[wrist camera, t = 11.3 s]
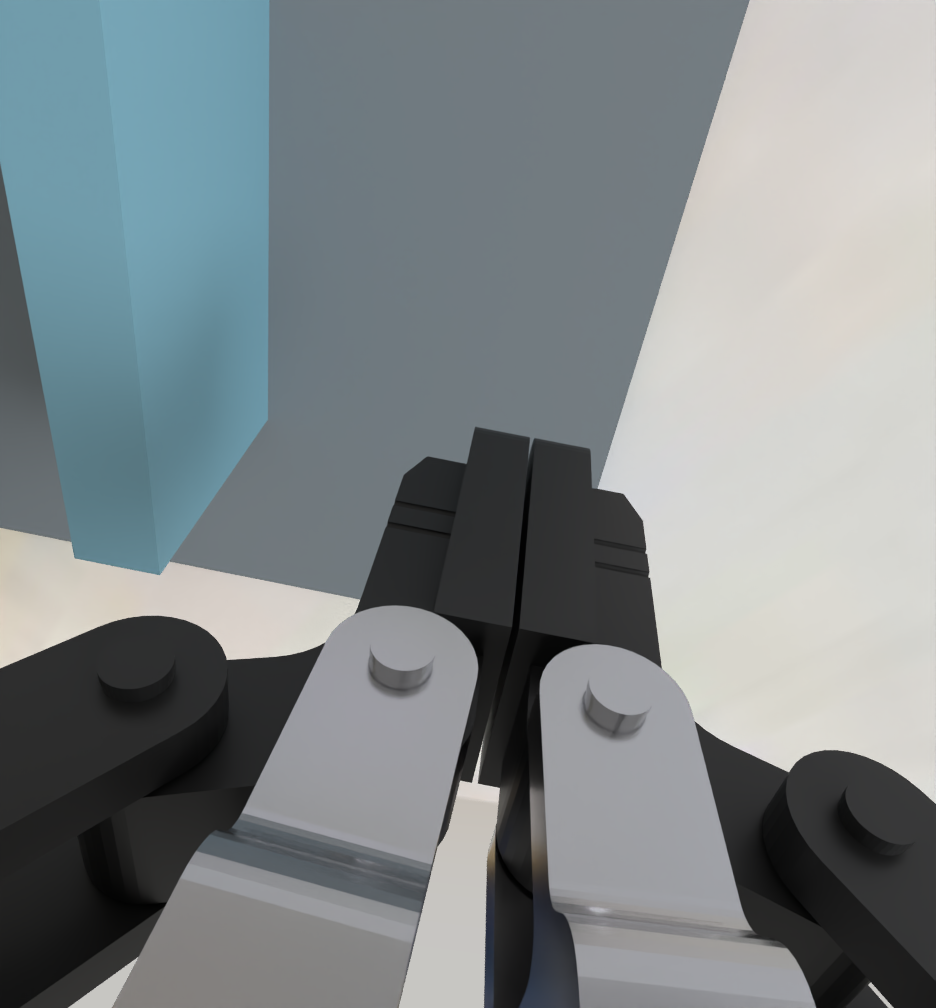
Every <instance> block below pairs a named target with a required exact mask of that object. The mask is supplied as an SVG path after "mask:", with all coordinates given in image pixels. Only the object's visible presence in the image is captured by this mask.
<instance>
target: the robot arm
mask: <svg viewBox="0 0 936 1008" xmlns="http://www.w3.org/2000/svg"><path fill="white" fill-rule="evenodd" d="M529 445H530V437H526V436H521V435H516V434H511V433H506V432H500V431H495V430H490V429H485V428H480V427H475V429H474V433H473V438H472V442H471V447H470V451H469V456H468V460H467V464H465V463H460V462H455V461H450V460H444V459H439V458H434V457H429V456H427V457H426V458H424V459H423V460H422V461H421V462H419V463H418V464H417V465H416V466H414V467H413V468H412V469H410V470H409V471H408V472H407V473H405V474H404V475H403V478H402V481H401V484H400V487H399V490H398V493H397V496H396V498H395V503H394V505H393V507H392V510H391V513H390V516H389V519H388V522H387V527H385V530H384V533H383V536H382V539H381V542H380V545H379V547H378V550H377V553H376V556H375V559H374V562H373V565H372V568H371V571H370V573H369V576H368V579H367V582H366V585H365V588H364V591H363V594H362V597H361V599H360V602H359V605H358V608H357V610H356V612H355V614H354V615H353V616H351V617H349V618H347V619H346V620H344V621H343V622H342V623H340V624H339V625H338V626H337V627H336V628H335V629H334V630H333V631H332V633H331V634H330V636H329V638H328V639H327V641H326V643H324V644H322V645H320V646H318V647H316V648H313V649H310V650H307V651H305V652H301V653H297V654H292V655H287V656H279V657H268V658H252V659H237V660H226V656H225V654H224V651H223V649H222V647H221V645H220V644H219V643H218V641H217V640H216V639H215V638H214V637H213V636H212V635H211V634H210V633H209V632H208V631H206V630H204V629H203V628H201V627H199V626H198V625H196V624H193V623H190V622H188V621H185V620H181V619H177V618H173V617H165V616H140V617H132V618H126V619H122V620H118V621H114V622H111V623H108V624H105V625H103V626H100V627H97V628H95V629H93V630H90V631H88V632H86V633H83V634H81V635H78V636H76V637H74V638H71V639H69V640H67V641H64V642H62V643H60V644H57V645H55V646H52V647H50V648H48V649H45V650H43V651H41V652H38V653H36V654H34V655H31V656H29V657H26V658H24V659H22V660H19V661H17V662H15V663H12V664H10V665H8V666H5V667H3V668H0V1008H68V1007H69V1006H71V1005H72V1004H74V1003H75V1002H76V1001H78V1000H79V999H80V998H82V997H83V996H84V995H86V994H87V993H89V992H90V991H91V990H93V989H94V988H96V987H97V986H98V985H100V984H101V983H103V982H104V981H105V980H107V979H108V978H110V977H111V976H112V975H113V974H115V973H116V972H118V971H119V970H121V969H122V968H123V967H125V966H126V965H127V964H129V963H130V962H132V961H133V960H134V959H136V958H137V957H138V959H137V961H136V963H135V965H134V967H133V969H132V971H131V973H130V975H129V976H128V978H127V980H126V982H125V984H124V986H123V988H122V990H121V992H120V994H119V995H118V997H117V999H116V1001H115V1003H114V1005H113V1007H112V1008H399V1004H400V1000H401V996H402V992H403V987H404V983H405V979H406V975H407V970H408V967H409V962H410V958H411V954H412V950H413V946H414V942H415V937H416V933H417V929H418V925H419V921H420V917H421V913H422V909H423V904H424V900H425V896H426V892H427V888H428V884H429V880H430V875H431V871H432V867H433V863H434V859H435V855H436V851H437V847H438V845H439V844H440V843H441V841H442V840H443V838H444V836H445V834H446V832H447V830H448V827H449V823H450V819H451V815H452V811H453V807H454V802H455V799H456V795H457V791H458V787H459V782H460V780H461V781H466V782H471V783H472V780H473V776H474V772H475V768H476V764H477V760H478V756H479V753H480V749H481V745H482V741H483V745H482V753H481V762H480V770H479V778H478V784H483V785H488V786H493V787H498V788H500V794H499V805H498V816H497V824H496V827H495V830H494V834H493V837H492V840H491V843H490V847H489V850H488V857H487V886H486V938H485V987H484V988H485V989H484V1008H888V1007H887V1006H886V1005H885V1004H884V1003H883V1002H882V1000H881V999H880V998H879V997H878V996H877V995H876V994H875V993H874V991H873V990H872V989H871V988H870V987H869V986H868V984H869V983H870V982H872V984H873V985H874V986H875V987H876V988H877V989H878V991H880V993H881V994H882V995H883V996H884V997H885V998H886V999H887V1001H888V1002H889V1003H890V1004H891V1005H892V1006H893V1007H894V1008H936V804H935V803H934V802H933V801H932V800H931V799H930V798H928V797H927V796H926V795H925V794H924V793H923V792H922V791H921V790H919V789H918V788H917V787H916V786H914V785H913V784H912V783H911V782H910V781H908V780H907V779H906V778H904V777H903V776H901V775H900V774H898V773H897V772H895V771H894V770H892V769H890V768H888V767H886V766H884V765H883V764H881V763H879V762H876V761H874V760H872V759H869V758H867V757H864V756H861V755H857V754H854V753H850V752H844V751H838V750H824V751H819V752H813V753H811V754H809V755H806V756H804V757H803V758H801V759H800V760H799V761H797V762H796V763H795V765H794V766H793V768H792V769H791V770H790V772H786V771H784V770H782V769H780V768H778V767H776V766H774V765H772V764H769V763H767V762H765V761H763V760H761V759H759V758H757V757H754V756H752V755H750V754H748V753H746V752H744V751H742V750H740V749H737V748H735V747H733V746H731V745H729V744H727V743H726V742H724V741H722V740H720V739H718V738H717V737H715V736H714V735H712V734H711V733H709V732H708V731H706V730H705V729H703V728H702V727H701V726H700V725H699V724H697V723H696V722H695V721H694V717H693V713H692V710H691V707H690V705H689V702H688V700H687V698H686V696H685V694H684V693H683V691H682V690H681V688H680V687H679V686H678V684H677V683H676V682H675V681H674V680H673V679H672V678H671V677H670V676H669V675H668V674H667V673H666V672H665V671H664V670H663V669H662V667H661V659H660V651H659V643H658V636H657V628H656V620H655V612H654V605H653V597H652V589H651V581H650V578H648V575H649V566H648V558H647V554H645V552H646V543H645V535H644V527H643V521H642V519H641V518H640V516H639V515H638V514H637V512H636V511H635V509H634V508H633V507H632V505H631V504H630V502H629V501H628V500H627V498H626V497H625V495H624V494H621V493H616V492H611V491H605V490H600V489H595V488H592V472H591V451H590V449H589V448H584V447H579V446H574V445H569V444H563V443H558V442H553V441H548V440H543V439H538V438H534V440H533V443H532V446H531V450H530V454H529ZM528 455H529V458H528Z"/></svg>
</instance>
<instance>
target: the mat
mask: <svg viewBox="0 0 936 1008" xmlns="http://www.w3.org/2000/svg"><path fill="white" fill-rule="evenodd" d="M748 3H749V0H269V251H268V420H267V421H266V423H265V424H264V426H263V427H262V429H261V430H260V432H259V433H258V434H257V436H256V437H255V439H254V440H253V442H252V443H251V445H250V446H249V447H248V449H247V450H246V452H245V453H244V455H243V456H242V457H241V459H240V460H239V462H238V463H237V465H236V466H235V468H234V469H233V470H232V472H231V473H230V475H229V476H228V478H227V479H226V481H225V482H224V483H223V485H222V486H221V488H220V489H219V491H218V492H217V493H216V495H215V496H214V498H213V499H212V501H211V502H210V504H209V505H208V506H207V508H206V509H205V511H204V512H203V514H202V515H201V517H200V518H199V519H198V521H197V522H196V524H195V525H194V527H193V528H192V530H191V531H190V532H189V534H188V535H187V537H186V538H185V540H184V541H183V542H182V544H181V545H180V547H179V548H178V550H177V551H176V553H175V554H174V555H173V557H172V558H171V560H170V562H175V563H180V564H185V565H190V566H195V567H200V568H205V569H210V570H215V571H220V572H225V573H230V574H235V575H240V576H245V577H250V578H255V579H260V580H265V581H270V582H275V583H280V584H285V585H290V586H295V587H300V588H305V589H310V590H315V591H321V592H326V593H331V594H336V595H341V596H346V597H351V598H356V599H361V597H362V594H363V591H364V588H365V585H366V582H367V579H368V576H369V573H370V571H371V568H372V565H373V562H374V559H375V556H376V553H377V550H378V547H379V545H380V542H381V539H382V536H383V533H384V530H385V527H387V522H388V519H389V516H390V513H391V510H392V507H393V505H394V503H395V498H396V496H397V493H398V490H399V487H400V484H401V481H402V478H403V475H404V474H405V473H407V472H408V471H409V470H410V469H412V468H413V467H414V466H416V465H417V464H418V463H419V462H421V461H422V460H423V459H424V458H426V457H427V456H429V457H434V458H439V459H444V460H450V461H455V462H460V463H465V464H467V460H468V456H469V451H470V447H471V442H472V438H473V433H474V429H475V427H480V428H485V429H490V430H495V431H500V432H506V433H511V434H516V435H521V436H526V437H530V445H529V454H530V450H531V446H532V443H533V440H534V438H538V439H543V440H548V441H553V442H558V443H563V444H569V445H574V446H579V447H584V448H589V449H590V451H591V472H592V488H595V489H597V488H598V485H599V481H600V478H601V475H602V472H603V469H604V465H605V462H606V459H607V456H608V453H609V449H610V446H611V443H612V440H613V437H614V433H615V430H616V427H617V424H618V421H619V417H620V414H621V411H622V408H623V404H624V401H625V398H626V395H627V392H628V388H629V385H630V382H631V379H632V376H633V372H634V369H635V366H636V363H637V360H638V356H639V353H640V350H641V347H642V343H643V340H644V337H645V334H646V331H647V327H648V324H649V321H650V318H651V315H652V311H653V308H654V305H655V302H656V299H657V295H658V292H659V289H660V286H661V283H662V279H663V276H664V273H665V270H666V266H667V263H668V260H669V257H670V254H671V250H672V247H673V244H674V241H675V238H676V234H677V231H678V228H679V225H680V222H681V218H682V215H683V212H684V209H685V205H686V202H687V199H688V196H689V193H690V189H691V186H692V183H693V180H694V177H695V173H696V170H697V167H698V164H699V161H700V157H701V154H702V151H703V148H704V145H705V141H706V138H707V135H708V132H709V128H710V125H711V122H712V119H713V116H714V112H715V109H716V106H717V103H718V100H719V96H720V93H721V90H722V87H723V84H724V80H725V77H726V74H727V71H728V67H729V64H730V61H731V58H732V55H733V51H734V48H735V45H736V42H737V39H738V35H739V32H740V29H741V26H742V23H743V19H744V16H745V13H746V10H747V7H748ZM528 458H529V455H528ZM0 528H5V529H10V530H15V531H20V532H25V533H30V534H35V535H40V536H45V537H50V538H55V539H60V540H65V541H70V542H71V536H70V531H69V526H68V520H67V515H66V510H65V504H64V499H63V494H62V488H61V483H60V478H59V472H58V467H57V462H56V456H55V451H54V446H53V441H52V435H51V430H50V425H49V419H48V414H47V409H46V403H45V398H44V393H43V387H42V382H41V377H40V371H39V366H38V361H37V355H36V350H35V345H34V339H33V334H32V329H31V324H30V318H29V313H28V308H27V302H26V297H25V292H24V286H23V281H22V276H21V270H20V265H19V260H18V254H17V249H16V244H15V238H14V233H13V228H12V223H11V217H10V212H9V207H8V201H7V196H6V191H5V185H4V180H3V175H2V169H1V164H0Z"/></svg>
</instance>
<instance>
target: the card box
mask: <svg viewBox="0 0 936 1008" xmlns="http://www.w3.org/2000/svg"><path fill="white" fill-rule="evenodd" d="M0 164H1V169H2V175H3V180H4V185H5V191H6V196H7V201H8V207H9V212H10V217H11V223H12V228H13V233H14V238H15V244H16V249H17V254H18V260H19V265H20V270H21V276H22V281H23V286H24V292H25V297H26V302H27V308H28V313H29V318H30V324H31V329H32V334H33V339H34V345H35V350H36V355H37V361H38V366H39V371H40V377H41V382H42V387H43V393H44V398H45V403H46V409H47V414H48V419H49V425H50V430H51V435H52V441H53V446H54V451H55V456H56V462H57V467H58V472H59V478H60V483H61V488H62V494H63V499H64V504H65V510H66V515H67V520H68V526H69V531H70V536H71V542H72V547H73V552H74V557H75V558H76V559H81V560H86V561H91V562H96V563H101V564H106V565H111V566H117V567H122V568H127V569H132V570H137V571H142V572H147V573H152V574H157V575H160V574H161V573H162V571H163V570H164V568H165V567H166V566H167V564H168V563H169V561H170V560H171V558H172V557H173V555H174V554H175V553H176V551H177V550H178V548H179V547H180V545H181V544H182V542H183V541H184V540H185V538H186V537H187V535H188V534H189V532H190V531H191V530H192V528H193V527H194V525H195V524H196V522H197V521H198V519H199V518H200V517H201V515H202V514H203V512H204V511H205V509H206V508H207V506H208V505H209V504H210V502H211V501H212V499H213V498H214V496H215V495H216V493H217V492H218V491H219V489H220V488H221V486H222V485H223V483H224V482H225V481H226V479H227V478H228V476H229V475H230V473H231V472H232V470H233V469H234V468H235V466H236V465H237V463H238V462H239V460H240V459H241V457H242V456H243V455H244V453H245V452H246V450H247V449H248V447H249V446H250V445H251V443H252V442H253V440H254V439H255V437H256V436H257V434H258V433H259V432H260V430H261V429H262V427H263V426H264V424H265V423H266V421H267V420H268V251H269V0H0Z"/></svg>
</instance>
